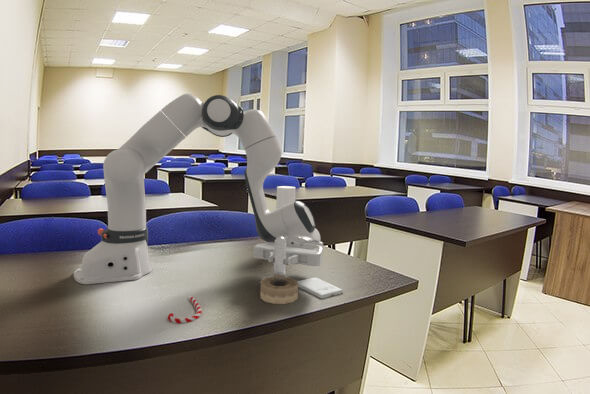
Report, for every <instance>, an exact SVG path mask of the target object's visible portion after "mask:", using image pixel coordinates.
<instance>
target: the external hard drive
mask: <svg viewBox="0 0 590 394" xmlns="http://www.w3.org/2000/svg"><path fill="white" fill-rule="evenodd" d="M296 281H297V282H298V289H301V290H303V291H305V292H307V293H309V294H311V295H314V296H315V297H318V298H319V299H321V298H322V299H325V298H330V297H333V296H332V295H334V296H337V294H338V295H340V294H341V293H342V294H344V289H342V288H339V287H338V286H336V285H333V284H331V283H329V282H327V281H324V280H323V279H320V278H319V277H311V278H306V279H305V278H304V279H302V280H296ZM342 294H341V295H342ZM329 296H330V297H329Z"/></svg>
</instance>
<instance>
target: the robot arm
mask: <svg viewBox="0 0 590 394" xmlns="http://www.w3.org/2000/svg"><path fill="white" fill-rule="evenodd" d="M198 128H202V129H203V130H205V131H207V132H208V133H211V134H212V135H213V136H215V137H220V138H226V137H229V136H231V135H233V134H234V135H235V136H237V138H239V140H240V142H241V146H242V147H243V149H244V151H245V154H246V162H247V163H246V164H247V165H246V167H245V169H244V179H245V184H246V188H247V192H248V196H249V200H250V204H251V208H252V212H253V215H254V220H255V221H254V222H255V229H256V233H257V235H258V237H259V238H260V239H261V240H262V241H264V242H261V243H258V244H255V245H254V246H253V257H254V258H255V259H260V260H266V261H268V263H271V264H272V263H273V264H274V250H275V239H276V238H277V237H280V236H281V237H286V238H285V239H286V258H285V259H284V261H285V262H284V264H285V265H287V266H290V265H301V266H302V265H303V266H309V267H320V266H321V265H322V264H323V259H324V258H323V257H324V242H323V241H321V234H320V231H319V230H318V229H317V228H316V219H315V216H314V214H313V212H312V210H311V209H310V207H309V206H308V205H307V204H306V203H304V202H302V201H300V200H295V201H294V202H291V203H289V204H286V205H284V206H282V207H280V208H278V209H276V208H275V209H273V210H270V209H269V207H268V203H267V199H266V195H265V192H264V183H265V180H266V179H267V177H268V176H269V175H270V173H271V172H273V170H275V168H276V167H277V166H278V164H279V163H280V160H281V158H282V152H283V151H282V148H281V144H280V142H279V139H278V136H277V135H276V132H275V130H274V129H273V127H272V124H271V123H270V122H269V119H268V118H267V117H266V115H265V114H264V113H263V112H262V111H261V110H259V109H252V108H251V109H248V110H246V111H245V110H244V109H243V108H242V106H241V105H239V104H237V103H236V102H235V101H234V100H232V99H231V98H230V97H227V96H226V95H223V94H215V95H212V96H210V97H209V98H207V99H206V100H205V102H203V101H201V99H200V98H199V97H197V96H196V95H194V94H191V93H183V94H182V95H180V96H178V97H176V98H175V99H173V100H172V101H170V102H169V103H168V104H166V105H165V106H163V108H161V109H160V110H159V111H158V112H157V113H156V114H154V116H152V117H151V118H150V119H149V120H148V121H147V122H146V123H144V124H143V125H142V126H141V127H140V128H139V129H138V130H137V131H136V132H135V133H134V134H133V135H132V136H130V138H129V139H128V140H126V141H125V142H124V144H122V145H121V147H119V148H117V149H115V150H111V152H110V153H108V154H107V155H106V157H105V159H104V161H103V164H102V165H103V167H102V169H103V179H104V187H105V194H106V195H105V196H106V201H107V203H106V204H107V226H108V227H107V228H106V229H103V228H98V230H97V235H99V236H100V237H101V241H100V242H99V243H97V244H96V245H95V246H93V247H92V248H91V249H89V250H88V251H87V252H85V254H84V255H83V257H82V260H81V261H82V262H81V268H77V269H76V270H75V271H74V272H73V279H74V281H75V282H77V283H79V284H82V285H93V284H94V285H95V284H102V283H104V284H105V283H114V282H124V281H134V280H135V281H136V280H139V279H140V278H142V277H143V276H145V275H147V274H149V273H151V272H152V270H153V267H152V263H151V260H150V255H149V250H148V245H149V244H148V243H149V229H148V226H147V204H146V203H147V202H146V193H145V189H146V188H145V174H147V173H148V172H149V171H150V170H151V169H152V168H153V167H155V166H156V165H157V164H158V163H159V162H160V161H161V160H162V159H164V158H165V157H166V156H167V155H169V153H170V152H171V151H173V150H174V149H175V148H176V147H177V146H178V145H180V143H181V142H182V141H183V140H185V139H186V138H187V137H188V136H189V135H191V133H192V132H193V131H195V130H197V129H198ZM287 236H288V237H287Z"/></svg>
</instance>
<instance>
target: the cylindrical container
mask: <svg viewBox="0 0 590 394" xmlns="http://www.w3.org/2000/svg"><path fill="white" fill-rule="evenodd" d="M294 201H296V186H289V185H281V186H276V206H275V207H276V208H275V209H278V208H280V207H282V206H284V205H286V204H289V203H291V202H294ZM287 237H288V236H287ZM284 238H286V237H284Z"/></svg>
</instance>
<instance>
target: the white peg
mask: <svg viewBox="0 0 590 394" xmlns="http://www.w3.org/2000/svg"><path fill="white" fill-rule="evenodd" d="M285 258H286V239H285V238H284V237H281V236H280V237H277V238H276V239H275V250H274V263H273V277H274V286H285V277H286V268H287V267H286V265H285V264H284V262H285V261H284V259H285Z"/></svg>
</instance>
